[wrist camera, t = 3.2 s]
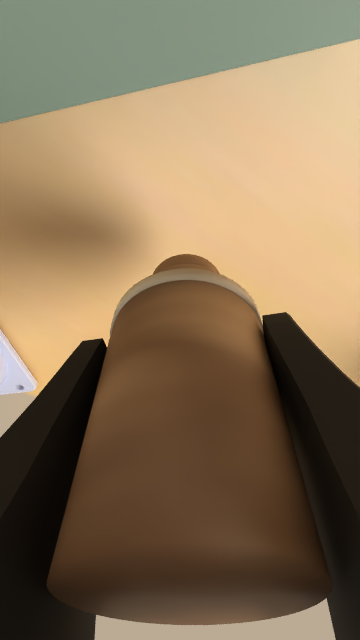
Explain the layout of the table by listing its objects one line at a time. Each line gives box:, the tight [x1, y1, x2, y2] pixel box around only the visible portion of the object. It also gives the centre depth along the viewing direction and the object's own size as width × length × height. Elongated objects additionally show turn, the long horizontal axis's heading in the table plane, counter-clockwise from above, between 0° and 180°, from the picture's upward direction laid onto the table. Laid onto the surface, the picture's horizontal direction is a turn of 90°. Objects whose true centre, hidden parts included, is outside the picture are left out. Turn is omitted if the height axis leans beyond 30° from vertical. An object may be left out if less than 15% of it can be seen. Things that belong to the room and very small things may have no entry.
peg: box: [47, 254, 333, 625], centre depth 9 cm, size 4×4×9 cm
